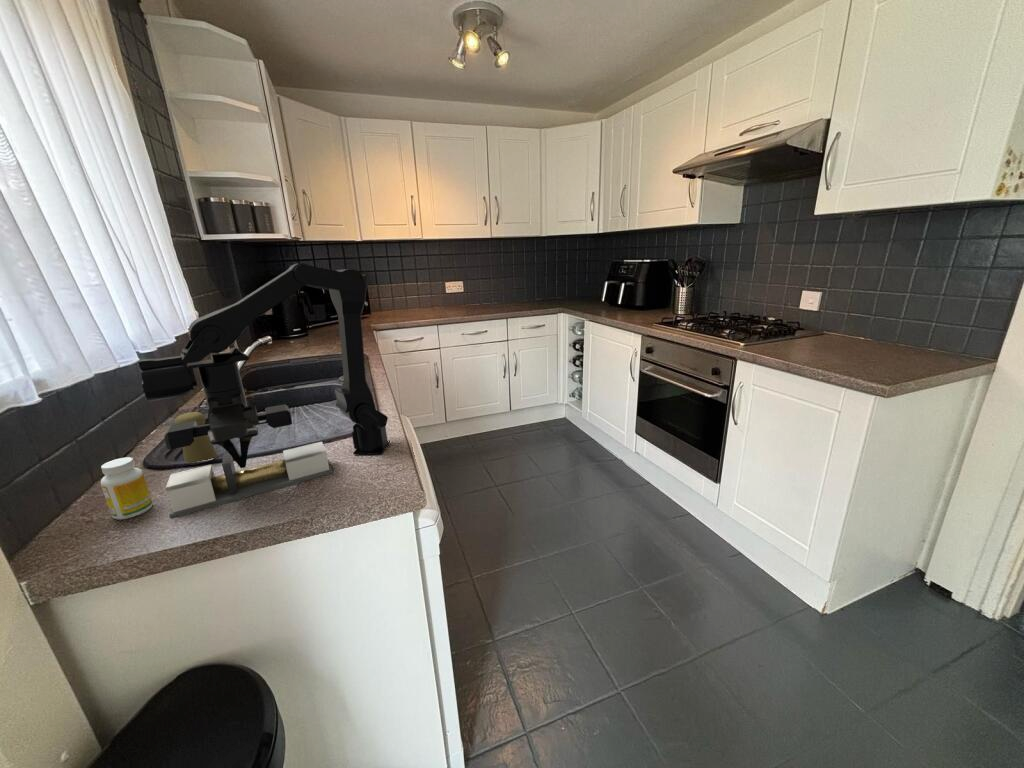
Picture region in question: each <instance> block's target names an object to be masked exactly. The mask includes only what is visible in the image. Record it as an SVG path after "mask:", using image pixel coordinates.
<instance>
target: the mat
mask: <svg viewBox="0 0 1024 768" xmlns="http://www.w3.org/2000/svg"><path fill="white" fill-rule="evenodd" d="M328 465H329V470H326V471H323V472H319V473H315V474H312V475H308V476H304V477H300V478H297V479H293V480H289V477H288V474H287V475H283V476H279V477H276V478H272V479H268V480H264V481H260V482H257V483H253V484H249V485H245V486H241V487H238V492H237V493H234V494H230V493H229V490H226V491H222V492H219V493H215V497H216V501H213V502H210V503H206V504H202V505H199V506H195V507H191V508H187V509H184V510H180V511H176V512H173V509H172V507H170V508H171V509H170V510H169V511H170V512H169V515H168V516H169V519H172V518H176V517H179V516H182V515H186V514H190V513H193V512H197V511H200V510H204V509H208V508H211V507H214V506H219V505H222V504H226V503H230V502H233V501H238V500H240V499H244V498H248V497H251V496H256V495H259V494H262V493H266V492H267V493H268V492H271V491H274V490H277V489H281V488H284V487H287V486H292V485H294V484H295V485H296V484H299V483H303V482H305V481H310V480H313V479H317V478H320V477H325V476H328V475H331V474H333V469H332V467H331V464H330V463H329V461H328Z"/></svg>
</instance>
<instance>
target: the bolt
mask: <svg viewBox="0 0 1024 768" xmlns="http://www.w3.org/2000/svg"><path fill="white" fill-rule="evenodd" d="M221 462H222V463H221V466H222V470H223V474H221V475H217V476H215V477H212V478H211V483H212V486H213V490H214V493H219V492H222V491H226V490H229V493H230V494H234V493H237V492H238V487H241V486H245V485H249V484H253V483H257V482H260V481H264V480H268V479H272V478H276V477H279V476H283V475H287V474H288V472H287V468H286V463H285V459H281V460H277V461H273V462H269V463H266V464H261V465H257V466H254V467H253V466H252V467H249V468H243V469H240V470H236V466H235V461H234V459H233V458H232V456H231V455H230V454H229V453H228V452H227V453H224V454H223V455H222V461H221Z"/></svg>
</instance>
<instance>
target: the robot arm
mask: <svg viewBox="0 0 1024 768" xmlns="http://www.w3.org/2000/svg"><path fill="white" fill-rule="evenodd" d="M367 283H368V282H367V280H366V277H365V276H364V275H363V274H362V273H361V272H360V271H358V270H356V269H351V268H347V269H336V270H333V269H328V268H324V267H317V266H311V265H310V264H307V263H303V262H301V263H294V264H292V265H290V266H289V268H288V269H286V270H285V271H284V272H282V273H280V274H279V275H277V276H276V277H274V278H272V279H271V280H270V281H268V282H266V283H264V284H263V285H261V286H260V287H259V288H257V289H256V290H254V291H252V292H250V294H247V295H246V296H245V297H243V298H241V299H240V300H239V301H237V302H236V303H233V304H230V305H228V306H226V307H223V308H220V309H218V310H214V311H212V312H210V313H207V314H205V315H203V316H201V317H199V318H196V319H194V320H193V321H192V322H191V323H190V325H189V327H188V333H187V334H188V336H189V340H188V342H186V345H185V347H184V348H182V350H181V351H182V352H181V353H180V355H178V356H177V355H175V356H169V357H162V358H144V359H139V360H138V366H139V369H140V375H141V386H142V389H143V393H144V395H145V397H146V400H147V402H148V403H149V402H155V401H160V400H166V399H167V400H168V399H171V398H177V397H183V396H187V395H191V394H192V391H195V389H194V388H198V383H197V379H196V375H195V372H194V369H197V371H198V375H199V377H200V382H201V385H202V389H203V393H204V396H205V401H206V405H207V408H208V411H207V413H208V414H207V420H208V423H206V424H204V425H200V426H197V423H196V421H190V422H184V423H179V424H175V423H174V424H171V425H170V426H169V427H168V429H167V430H166V432H165V434H164V442H165V446H166V449H167V450H174V449H181V448H183V447H185V446H190V445H191V444H192V443H193V442H194V440H195V437H199V436H204V435H208V436H209V438H210V444H211V445H213V446H214V445H218V446H220V447H222V448H223V449H224V450H225V451H226V452H227V454H228V453H229V454H230V455H231V456H232V459H233V461H234V462H235V463H236V465H238V467H239V468H240V469H246V468H247V467H246V466H247V460H248V453H249V452H248V451H249V448H250V447H249V446H250V444H251V440H252V438H253V437H256V436H258V435H259V425H265V424H267V425H268V426H269V427H270V428H273V429H277V428H282V427H286V426H290V425H293V421H292V415H291V411H290V408H289V406H288V405H286V404H279V405H274V406H268V407H265V409H264V410H265V412H264V413H260V414H259V413H258V412H257V411H258V410H257V408H256V405H255V404H253V405H249V406H248V402H247V398H246V393H245V390H244V386H243V382H242V381H243V380H242V378H241V373H240V369H239V364H238V363H239V362H245V361H249V360H250V356H249V355H248V354H247V353H244V352H242V351H241V350H240V349H239V348H237V347H236V346H234V347H232V349H231V350H230V351H228V352H223V351H226V350H227V349H228V348H229V347H230V346H231V345H232V344H233V343H234V342H235V341H237V339H238V338H239V337H240V336H241V335H243V333H244V332H245V331H246V329H247V328H248V327H249V326H250V325H251V324H252V323H253V322H254V321H255V320H257V319H258V318H260V317H261V316H263V315H264V314H266V313H267V312H269V311H271V310H272V309H274V308H275V307H276V306H278V305H279V304H281V303H282V302H283V301H285V300H286V299H288V298H290V297H292V296H293V295H294V294H295V293H298V291H300V290H302V288H304V287H306V286H307V287H311V288H315V289H320V290H321V289H322V290H325V291H326V290H327V291H328V292H329V295H330V299H331V302H332V304H333V306H334V309H335V311H336V314H337V317H338V318H337V319H338V328H339V340H340V351H341V352H340V353H341V363H342V372H343V373H342V375H343V382H342V385H341V388H334V393H335V396H336V403H335V407H336V408H338V409H339V411H340V413H341V414H343V416H345V417H346V418H347V419H348V420H350V421H351V422H352V423H355V424H354V425H353V426H352V430H353V431H352V432H351V436H352V442H353V443H352V444H353V448H354V451H353V452H352V453H353V455H354V454H372V455H382V454H383V453H384V452H385V451H386V449H387V448H388V447H387V446H389V445H390V444H391V443H390V441H391V440H388V435H387V429H386V427H387V423H388V419H389V417H388V416H387V415H386V414H384V413H382V412H381V411H379V410H378V409H377V408H376V407H377V406H376V403H375V399H374V397H373V393H372V390H371V389H370V387H369V384H368V382H367V377H366V363H365V362H366V361H365V350H364V339H363V337H364V336H363V326H362V325H363V324H362V323H363V322H362V312H363V310H364V305H365V303H366V299H367V287H368V286H367V285H368V284H367ZM210 354H211V355H210ZM209 355H210V357H211V359H206V360H203V359H205V358H206V357H208V356H209ZM237 438H238V439H239V446H238V444H237V442H236V439H237ZM388 441H389V442H388ZM389 443H390V444H389ZM388 444H389V445H388ZM239 447H240V450H239ZM386 447H387V448H386ZM385 448H386V449H385ZM383 451H384V452H383Z"/></svg>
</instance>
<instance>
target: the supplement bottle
mask: <svg viewBox="0 0 1024 768" xmlns="http://www.w3.org/2000/svg"><path fill="white" fill-rule="evenodd" d="M135 465H136V463H135V461H134V458H133V457H129V456H127V457H126V456H125V457H119V458H116V459H113V460H110V461H107V462H105V463H103V464H102V465H101V466H100V468H101V471H102V474H103V477H102V478H101V480H100V486H101V489H102V491H103V494H104V497H105V500H106V504H107V506H108V509H109V512H110V514H111V517H112V518H113V519H115V520H127V519H130V518H134V517H137V516H139V515H143V514H144V513H146V512H148V511H149V510H150V509H151V508H152V506H153V501H152V500H153V499H152V497H151V493H150V491H149V486H148V484H147V481H146V478H145V474H144V472H143V470H142V469H140V468H138V467H135Z"/></svg>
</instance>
